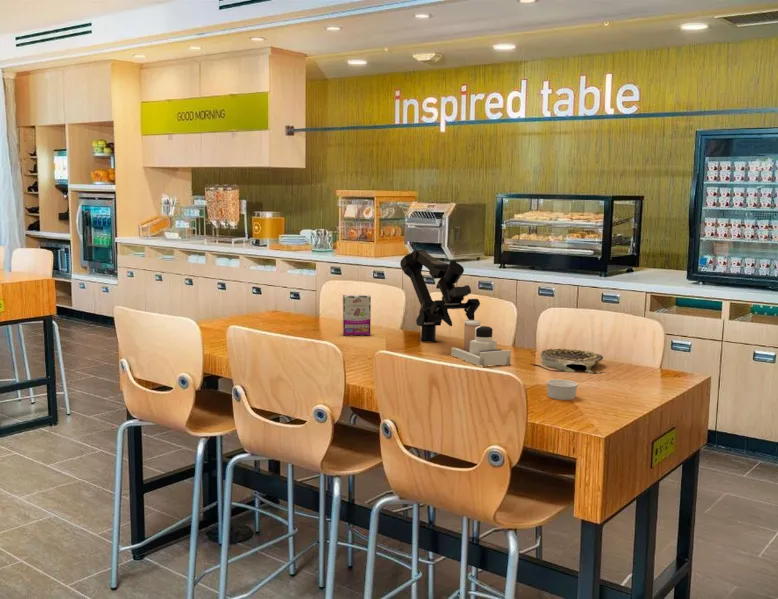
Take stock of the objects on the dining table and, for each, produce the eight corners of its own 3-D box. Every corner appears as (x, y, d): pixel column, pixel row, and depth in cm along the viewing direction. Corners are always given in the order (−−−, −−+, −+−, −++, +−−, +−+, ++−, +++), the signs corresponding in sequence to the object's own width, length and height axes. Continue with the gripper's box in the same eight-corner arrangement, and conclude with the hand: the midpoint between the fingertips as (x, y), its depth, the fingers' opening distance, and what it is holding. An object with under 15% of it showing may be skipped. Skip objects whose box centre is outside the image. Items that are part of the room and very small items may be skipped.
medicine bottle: (496, 360, 277) (497, 326, 276) (487, 363, 271) (488, 329, 270) (478, 357, 281) (479, 324, 280) (468, 360, 275) (470, 326, 274)
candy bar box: (368, 333, 325) (369, 294, 323) (370, 336, 320) (371, 296, 318) (341, 334, 324) (342, 294, 321) (343, 336, 319) (343, 295, 317)
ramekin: (572, 393, 234) (573, 379, 233) (580, 401, 225) (581, 386, 224) (542, 393, 234) (543, 378, 233) (549, 400, 225) (550, 386, 224)
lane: (451, 355, 284) (451, 342, 284) (479, 353, 289) (480, 340, 289) (480, 367, 266) (481, 352, 266) (510, 364, 271) (510, 350, 271)
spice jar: (464, 354, 287) (465, 319, 285) (480, 355, 285) (481, 320, 283) (461, 357, 281) (463, 321, 280) (477, 359, 280) (478, 322, 278)
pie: (516, 359, 282) (517, 346, 281) (581, 357, 292) (582, 343, 291) (560, 377, 256) (561, 362, 255) (629, 373, 266) (630, 359, 265)
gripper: (434, 278, 286) (448, 313, 278) (478, 277, 294) (493, 311, 286) (424, 296, 294) (437, 331, 286) (467, 295, 302) (481, 328, 294)
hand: (462, 325), depth 288 cm, fingers open, 9 cm apart
